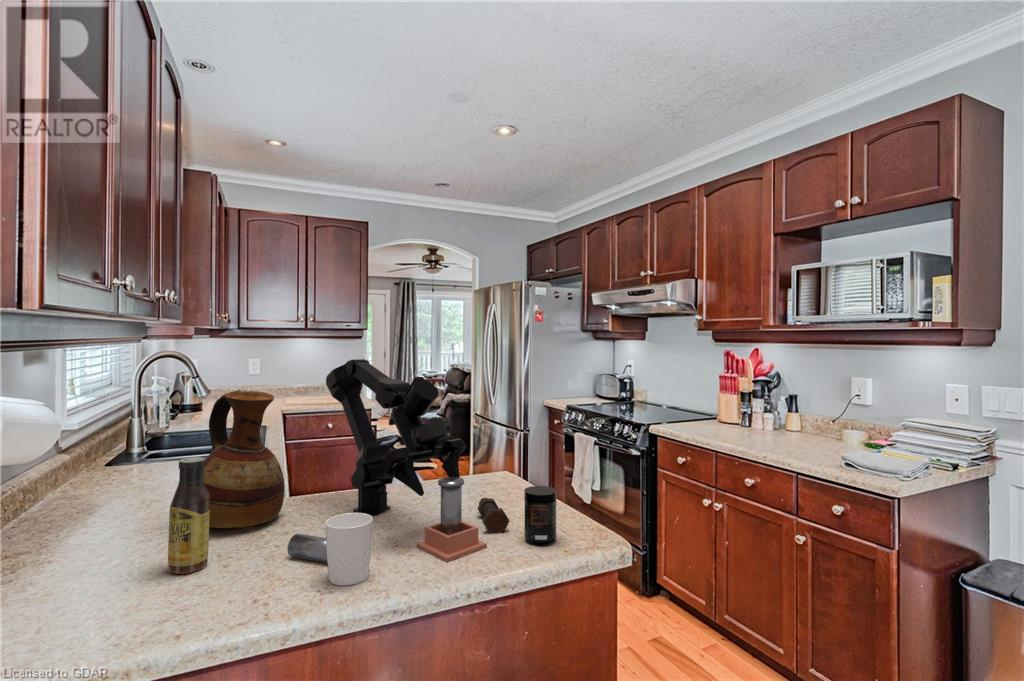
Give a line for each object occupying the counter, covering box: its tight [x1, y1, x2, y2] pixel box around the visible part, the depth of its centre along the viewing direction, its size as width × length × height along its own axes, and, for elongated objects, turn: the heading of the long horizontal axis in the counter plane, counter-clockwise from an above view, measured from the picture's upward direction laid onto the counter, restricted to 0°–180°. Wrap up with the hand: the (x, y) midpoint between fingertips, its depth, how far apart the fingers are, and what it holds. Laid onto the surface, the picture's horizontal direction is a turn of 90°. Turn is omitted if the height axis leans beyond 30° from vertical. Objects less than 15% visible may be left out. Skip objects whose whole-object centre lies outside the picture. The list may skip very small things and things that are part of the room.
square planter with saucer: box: [415, 520, 488, 563], centre depth 103 cm, size 10×10×4 cm
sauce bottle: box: [167, 456, 210, 575], centre depth 93 cm, size 6×6×20 cm
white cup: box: [325, 512, 374, 586], centre depth 90 cm, size 8×8×10 cm
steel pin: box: [437, 476, 465, 535], centre depth 103 cm, size 5×5×13 cm
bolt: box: [477, 497, 510, 535], centre depth 118 cm, size 6×5×15 cm
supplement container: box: [523, 485, 558, 547], centre depth 107 cm, size 7×7×10 cm
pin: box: [286, 533, 328, 564], centre depth 97 cm, size 12×4×4 cm
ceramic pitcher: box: [203, 390, 285, 529], centre depth 117 cm, size 20×20×30 cm
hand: (441, 490), depth 106 cm, fingers open, 9 cm apart
